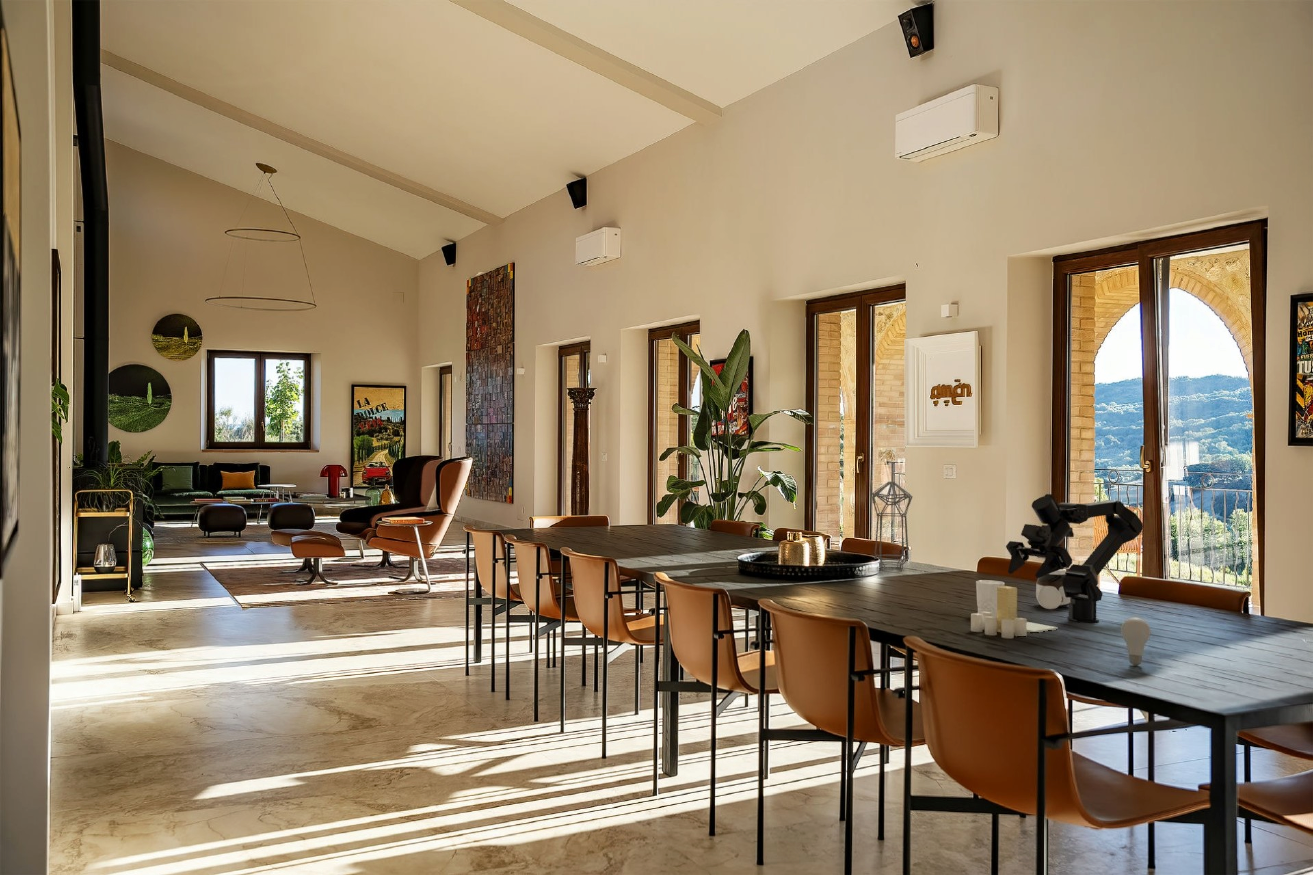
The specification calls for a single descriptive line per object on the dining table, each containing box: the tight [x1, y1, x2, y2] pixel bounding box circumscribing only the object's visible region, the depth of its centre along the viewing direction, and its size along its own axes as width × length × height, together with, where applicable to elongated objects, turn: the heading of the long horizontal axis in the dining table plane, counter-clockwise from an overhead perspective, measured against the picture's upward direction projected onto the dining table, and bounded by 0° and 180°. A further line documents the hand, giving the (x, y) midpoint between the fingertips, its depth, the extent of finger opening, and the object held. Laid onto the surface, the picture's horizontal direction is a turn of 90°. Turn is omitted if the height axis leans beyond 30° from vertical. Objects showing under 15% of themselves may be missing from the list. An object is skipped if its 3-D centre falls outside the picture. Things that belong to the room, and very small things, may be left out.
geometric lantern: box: [870, 480, 913, 571], centre depth 400 cm, size 16×16×35 cm
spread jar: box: [1035, 568, 1070, 610], centre depth 311 cm, size 12×11×12 cm
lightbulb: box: [1120, 617, 1151, 667], centre depth 230 cm, size 6×6×11 cm
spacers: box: [970, 612, 1028, 639], centre depth 268 cm, size 8×14×4 cm, turn 32°
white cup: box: [975, 579, 1005, 617], centre depth 294 cm, size 8×8×10 cm
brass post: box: [997, 585, 1018, 633], centre depth 270 cm, size 4×4×12 cm
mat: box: [1027, 621, 1058, 633], centre depth 275 cm, size 10×10×1 cm
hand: (1022, 574), depth 276 cm, fingers open, 9 cm apart
